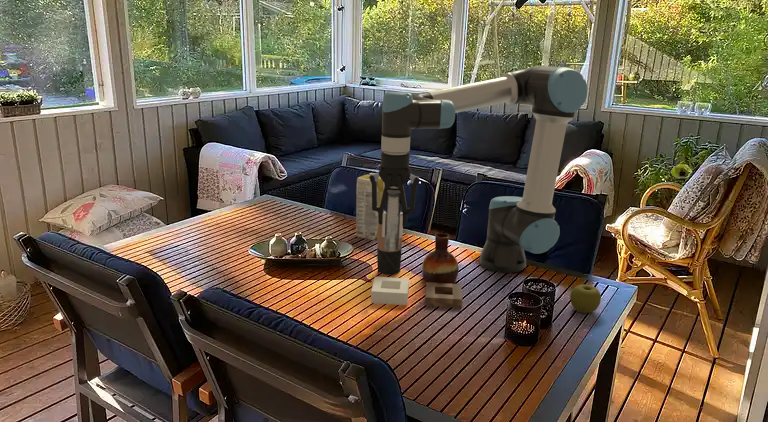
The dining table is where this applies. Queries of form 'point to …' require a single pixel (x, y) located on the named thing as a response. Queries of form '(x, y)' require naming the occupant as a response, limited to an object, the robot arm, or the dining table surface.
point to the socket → (390, 290)
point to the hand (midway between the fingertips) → (392, 235)
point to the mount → (443, 295)
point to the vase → (440, 263)
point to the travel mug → (387, 256)
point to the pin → (392, 218)
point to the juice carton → (367, 207)
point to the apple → (585, 298)
